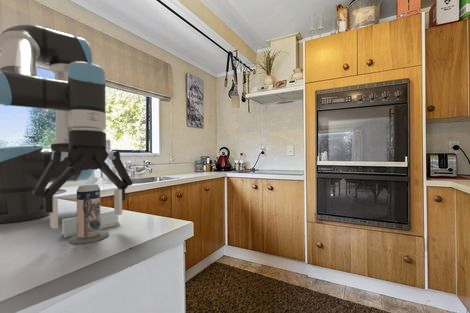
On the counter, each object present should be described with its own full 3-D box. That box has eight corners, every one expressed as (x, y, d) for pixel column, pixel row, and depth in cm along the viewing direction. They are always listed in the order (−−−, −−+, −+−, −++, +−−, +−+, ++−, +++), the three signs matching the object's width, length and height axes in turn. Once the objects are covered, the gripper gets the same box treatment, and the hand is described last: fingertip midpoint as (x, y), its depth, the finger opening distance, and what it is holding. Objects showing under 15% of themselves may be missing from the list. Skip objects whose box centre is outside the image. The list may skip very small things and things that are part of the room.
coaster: (63, 239, 55) (63, 237, 55) (100, 230, 61) (100, 228, 61) (76, 247, 50) (75, 245, 50) (114, 236, 56) (114, 234, 56)
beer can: (89, 240, 52) (89, 187, 52) (71, 239, 53) (71, 186, 53) (105, 233, 57) (104, 184, 57) (88, 232, 58) (88, 184, 58)
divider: (61, 235, 58) (60, 218, 58) (114, 222, 68) (114, 209, 68) (65, 237, 56) (64, 220, 56) (119, 224, 66) (119, 210, 66)
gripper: (20, 123, 43) (22, 238, 43) (145, 133, 63) (146, 211, 63) (13, 127, 48) (14, 230, 48) (131, 134, 67) (132, 208, 67)
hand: (89, 220), depth 55 cm, fingers open, 13 cm apart
